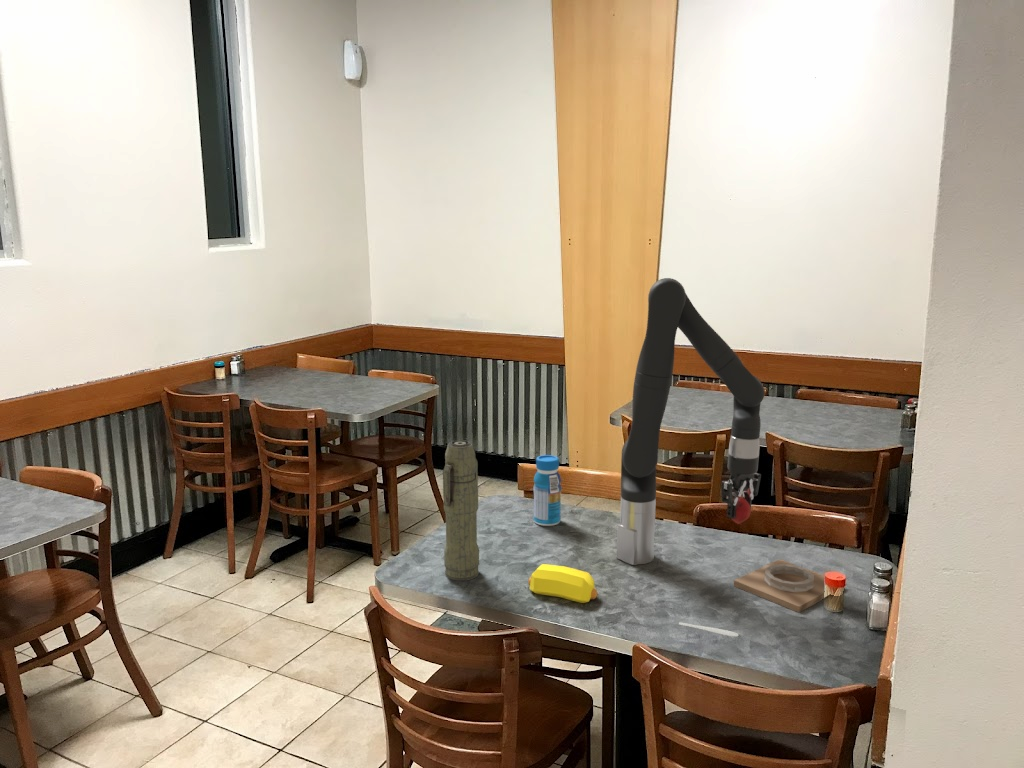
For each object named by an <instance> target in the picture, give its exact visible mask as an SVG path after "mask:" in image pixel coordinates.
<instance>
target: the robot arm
mask: <svg viewBox="0 0 1024 768" xmlns="http://www.w3.org/2000/svg"><path fill="white" fill-rule="evenodd" d="M647 299H648V300H647V303H648V308H647V321H646V330H645V331H646V332H645V337H644V340H643V343H642V347H641V349H640V353H639V356H638V358H637V359H638V360H637V364H636V370H635V376H634V381H633V389H632V410H631V412H632V417H631V426H630V431H629V435H628V439H627V440H626V441H624V444H623V445H622V448H621V456H620V457H621V458H620V459H621V460H620V461H621V463H620V464H621V465H620V466H621V467H620V516H619V518H620V519H619V524H617V527H616V529H617V530H616V531H617V532H616V559H618V560H620V561H622V562H625V563H627V564H629V565H632V566H635V565H645V564H649V563H651V562H653V561H654V558H655V557H654V556H655V555H654V554H655V553H654V552H655V527H656V526H655V525H656V506H657V505H656V502H657V501H656V499H657V467H658V466H657V465H658V462H659V445H660V443H659V442H660V432H661V425H662V423H663V418H664V414H665V411H666V408H667V403H668V398H669V394H670V389H671V384H672V380H673V373H674V365H675V364H674V363H675V345H676V343H675V342H676V337H677V336H676V334H677V331H678V329H679V330H680V331H681V333H683V335H684V336H685V337H686V338H687V340H688V341H689V342H690V344H691V345H692V347H693V348H694V349H695V351H696V352H697V353H698V355H699V357H700V358H701V359H702V360H703V361H704V362H705V364H707V366H708V367H709V368H710V369H711V370H712V372H714V374H715V375H716V376H717V377H718V378H719V379H720V380H721V381H722V383H724V385H725V386H726V388H727V389H728V390H729V392H730V393H731V394H732V395H733V417H732V420H731V421H732V422H731V433H730V437H729V438H730V439H729V445H728V454H727V455H728V457H727V470H728V471H729V472H730V476H729V479H728V480H722V481H721V502H722V503H725V504H726V505H727V508H726V517H727V518H729V519H731V520H732V519H734V518H735V517H736V506H737V505H736V503H737V501H738V498H739V497H741V494H742V495H743V498H744V499H745V500H746V501H747V502H748V503H749V505H750V508H751V509H752V501H753V500H754V497H757V496H758V494H759V488H760V484H761V478H762V474H761V473H758V471H759V470H758V469H759V461H760V460H759V459H760V449H761V448H760V434H761V413H760V410H761V403H762V401H763V400H764V398H765V388H764V385H763V383H762V382H761V379H759V378H758V377H757V376H755V375H753V374H752V373H751V371H750V370H749V369H748V368H747V367H746V366H745V365H744V363H743V362H742V360H741V358H740V357H739V356H738V354H736V352H735V351H734V350H733V349H732V347H730V346H729V344H728V343H727V342H726V340H724V339H723V338H722V337H721V336H720V334H719V333H718V332H716V330H715V329H714V328H713V327H712V326H711V325H710V324H709V323H708V322H707V321H706V320H705V319H704V318H703V316H702V315H701V314H700V312H699V311H698V310H697V308H696V307H695V306H694V304H693V303H692V301H691V300H690V298H689V296H688V295H687V293H686V290H685V288H684V286H683V284H682V283H680V282H679V281H678V280H676V279H674V278H671V277H665V278H660V279H659V280H657V281H655V282H654V283H653V284H652V285H651V287H650V289H649V291H648V298H647ZM733 496H734V497H733Z"/></svg>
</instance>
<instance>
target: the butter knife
mask: <svg viewBox="0 0 1024 768" xmlns="http://www.w3.org/2000/svg"><path fill="white" fill-rule="evenodd" d="M678 624H679V625H681V626H686V627H690V628H695V629H699V630H703V631H705V632H706V631H707V632H710V633H714V634H719V635H723V636H726V637H727V636H728V637H733V638H738V637H739V635H740V634H739V633H737V632H735V631H730V630H727V629H722V628H718V627H717V628H716V627H712V626H711V627H710V626H703V625H697V624H691V623H685V622H681V621H680V622H679V623H678Z"/></svg>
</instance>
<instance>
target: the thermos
mask: <svg viewBox="0 0 1024 768" xmlns="http://www.w3.org/2000/svg"><path fill="white" fill-rule="evenodd" d="M444 459H445V461H444V463H445V464H444V467H443V470H442V485H443V486H442V490H443V491H442V492H443V496H442V497H443V511H444V512H445V546H444V548H443V549H444V550H443V552H444V553H443V554H444V556H443V559H444V562H443V563H444V568H445V572H444V574H445V577H446V578H447V579H449V580H453V581H459V582H460V581H461V582H462V581H470V580H473V579H475V578H476V577H478V576H479V575H480V574H479V565H480V548H479V545H478V531H477V530H478V527H477V522H478V520H477V519H478V518H477V516H478V514H477V513H478V511H479V483H478V482H479V478H478V474H479V473H478V466H479V463H478V459H477V458H476V451H475V449H474V446H473V444H472V442H470V441H468V440H463V439H458V440H457V439H456V440H452V441H451V442H449V443H448V444H447V447H446V450H445V453H444Z"/></svg>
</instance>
